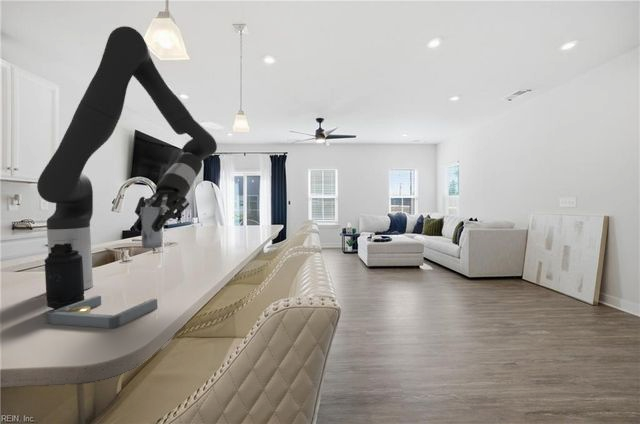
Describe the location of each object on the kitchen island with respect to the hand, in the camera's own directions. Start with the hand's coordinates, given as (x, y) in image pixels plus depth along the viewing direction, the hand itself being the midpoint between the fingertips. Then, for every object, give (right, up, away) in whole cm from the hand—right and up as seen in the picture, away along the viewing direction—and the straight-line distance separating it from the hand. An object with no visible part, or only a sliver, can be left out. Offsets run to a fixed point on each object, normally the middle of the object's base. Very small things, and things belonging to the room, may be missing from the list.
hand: (145, 229), depth 73 cm
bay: (-3, -18, -8) cm, 20 cm away
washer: (-8, -18, -10) cm, 22 cm away
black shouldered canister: (-16, -18, -4) cm, 24 cm away
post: (0, -5, +2) cm, 5 cm away
